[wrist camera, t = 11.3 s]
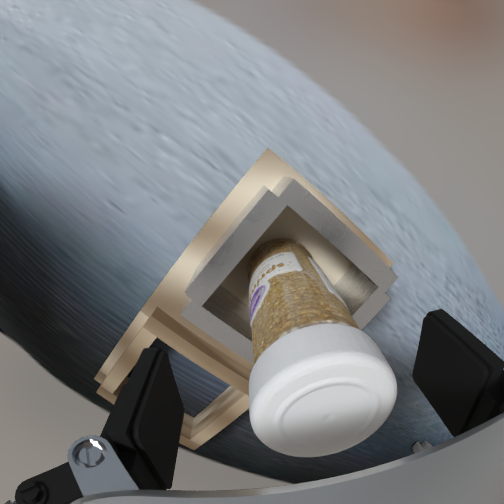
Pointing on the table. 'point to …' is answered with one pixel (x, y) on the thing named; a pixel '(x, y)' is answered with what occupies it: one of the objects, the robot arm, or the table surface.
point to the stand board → (237, 282)
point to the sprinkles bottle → (310, 359)
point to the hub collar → (245, 236)
